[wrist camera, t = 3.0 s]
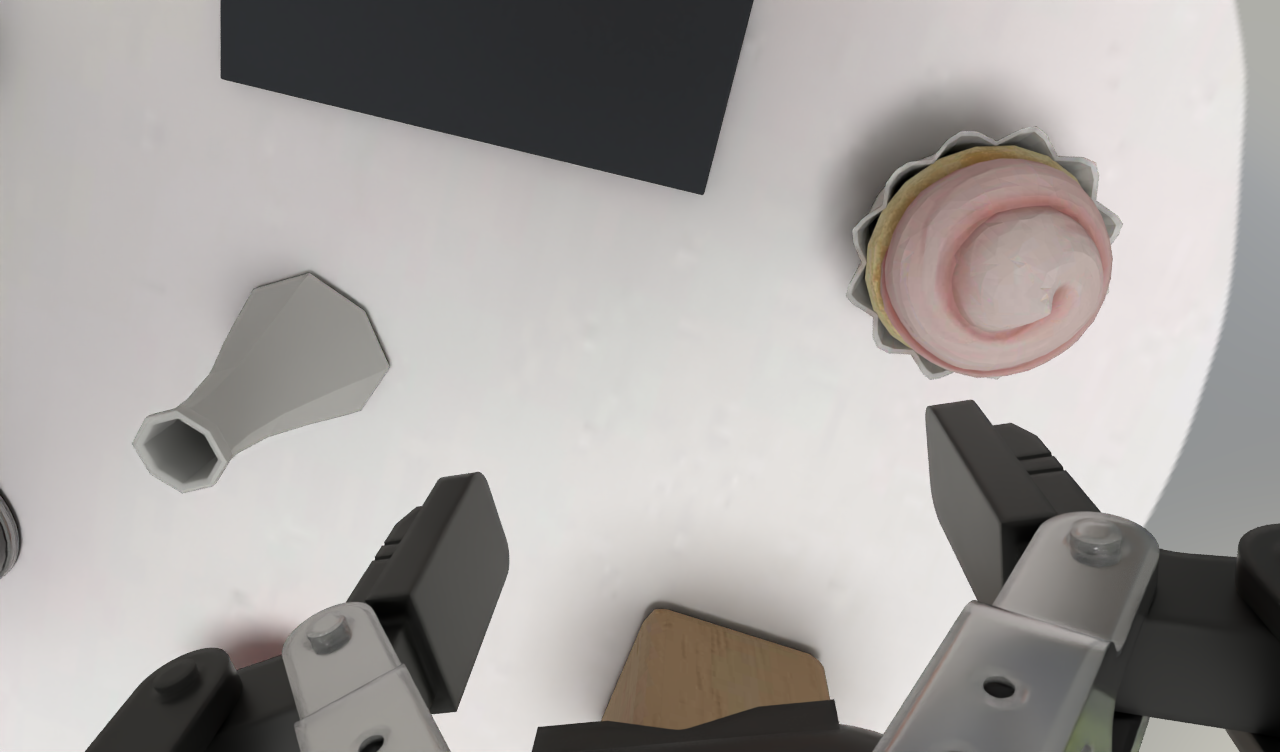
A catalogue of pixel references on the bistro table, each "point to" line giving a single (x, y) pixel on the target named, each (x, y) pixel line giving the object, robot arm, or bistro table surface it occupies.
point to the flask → (267, 381)
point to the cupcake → (985, 256)
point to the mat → (511, 72)
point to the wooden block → (707, 674)
